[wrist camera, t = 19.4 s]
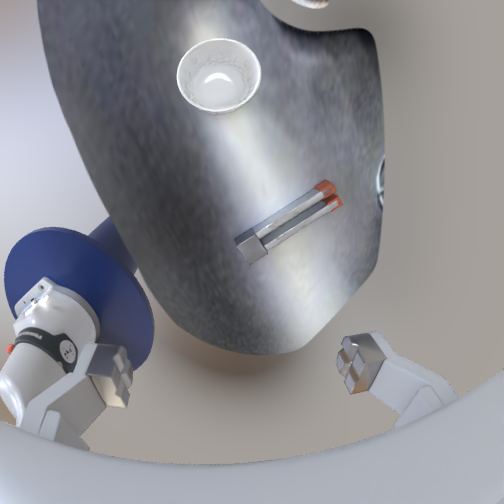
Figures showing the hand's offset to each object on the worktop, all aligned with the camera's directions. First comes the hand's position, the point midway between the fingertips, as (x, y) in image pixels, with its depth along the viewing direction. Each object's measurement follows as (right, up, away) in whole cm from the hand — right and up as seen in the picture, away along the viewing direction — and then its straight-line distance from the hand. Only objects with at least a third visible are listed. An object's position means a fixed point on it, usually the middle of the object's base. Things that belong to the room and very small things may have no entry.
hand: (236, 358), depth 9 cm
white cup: (-4, +24, +21) cm, 32 cm away
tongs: (+6, +9, +29) cm, 31 cm away
